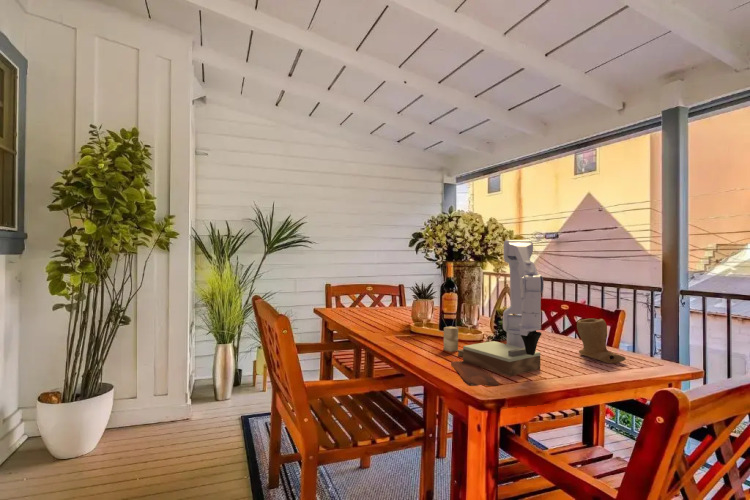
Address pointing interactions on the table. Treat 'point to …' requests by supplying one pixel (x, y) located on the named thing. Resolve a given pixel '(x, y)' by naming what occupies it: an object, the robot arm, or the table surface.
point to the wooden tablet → (474, 374)
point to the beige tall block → (450, 339)
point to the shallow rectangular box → (501, 363)
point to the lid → (500, 351)
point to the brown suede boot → (596, 341)
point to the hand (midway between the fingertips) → (530, 354)
